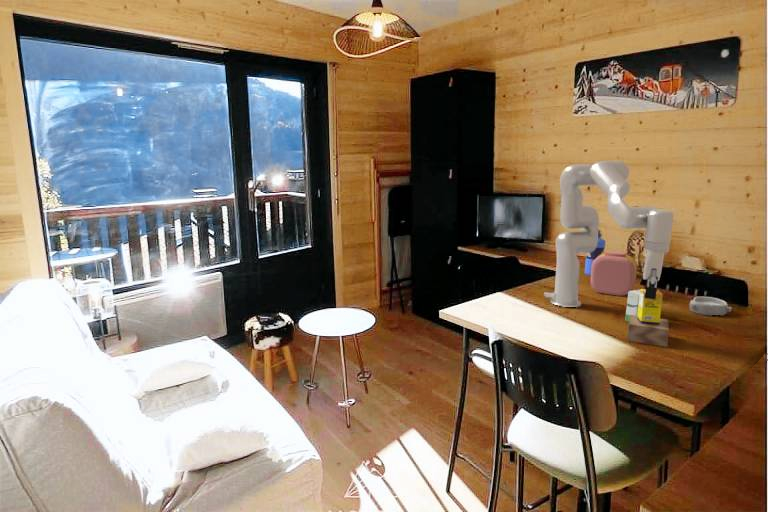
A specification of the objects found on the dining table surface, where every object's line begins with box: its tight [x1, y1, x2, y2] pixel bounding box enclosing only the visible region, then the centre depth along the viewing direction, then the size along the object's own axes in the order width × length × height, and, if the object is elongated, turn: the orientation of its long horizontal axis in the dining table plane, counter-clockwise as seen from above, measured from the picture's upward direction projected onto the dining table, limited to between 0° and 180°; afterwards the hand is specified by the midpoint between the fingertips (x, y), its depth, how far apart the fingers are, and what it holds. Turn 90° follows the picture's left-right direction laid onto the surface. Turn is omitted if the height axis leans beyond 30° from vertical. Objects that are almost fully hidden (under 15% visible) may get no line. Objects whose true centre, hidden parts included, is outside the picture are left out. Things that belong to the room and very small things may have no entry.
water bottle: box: [584, 228, 607, 277], centre depth 266 cm, size 9×9×25 cm
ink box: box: [624, 289, 640, 323], centre depth 188 cm, size 9×5×12 cm, turn 117°
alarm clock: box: [590, 250, 638, 297], centre depth 228 cm, size 18×11×19 cm, turn 58°
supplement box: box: [637, 288, 664, 325], centre depth 169 cm, size 6×6×11 cm
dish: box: [688, 296, 733, 317], centre depth 201 cm, size 14×14×5 cm
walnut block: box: [626, 315, 670, 348], centre depth 170 cm, size 12×12×6 cm
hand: (649, 294), depth 168 cm, fingers open, 9 cm apart
